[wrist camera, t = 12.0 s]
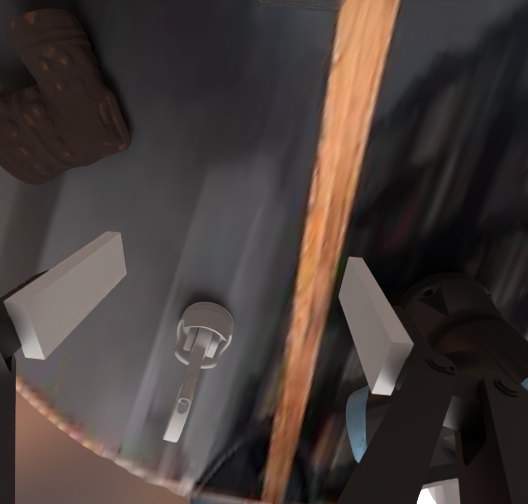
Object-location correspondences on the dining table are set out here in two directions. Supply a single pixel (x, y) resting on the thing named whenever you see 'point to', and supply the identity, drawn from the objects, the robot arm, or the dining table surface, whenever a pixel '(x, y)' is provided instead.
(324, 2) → the machine vise
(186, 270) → the dining table surface
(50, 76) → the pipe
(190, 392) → the engine component
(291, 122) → the dining table surface
